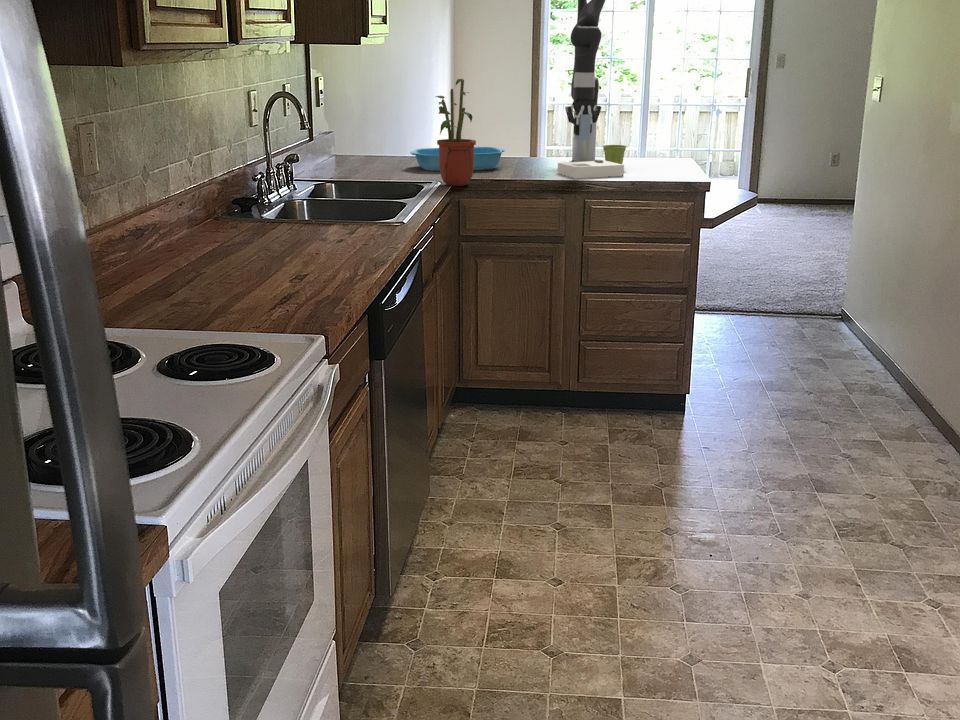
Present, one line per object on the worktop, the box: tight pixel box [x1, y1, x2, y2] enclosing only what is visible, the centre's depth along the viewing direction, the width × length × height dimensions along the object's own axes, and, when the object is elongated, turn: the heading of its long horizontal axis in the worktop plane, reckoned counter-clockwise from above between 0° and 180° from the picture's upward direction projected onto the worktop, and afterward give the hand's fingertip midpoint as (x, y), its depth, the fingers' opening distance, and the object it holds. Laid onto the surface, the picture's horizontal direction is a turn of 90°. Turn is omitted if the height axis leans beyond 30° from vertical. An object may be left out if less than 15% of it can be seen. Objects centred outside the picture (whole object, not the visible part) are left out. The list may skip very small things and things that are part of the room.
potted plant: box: [434, 78, 477, 187], centre depth 325 cm, size 17×16×35 cm
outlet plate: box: [557, 159, 625, 179], centre depth 356 cm, size 14×20×5 cm
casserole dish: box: [410, 146, 505, 172], centre depth 374 cm, size 37×22×7 cm, turn 103°
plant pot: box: [601, 144, 628, 165], centre depth 373 cm, size 9×9×9 cm
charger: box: [575, 114, 591, 141], centre depth 348 cm, size 4×4×9 cm
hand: (582, 134), depth 349 cm, fingers closed on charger, 4 cm apart
